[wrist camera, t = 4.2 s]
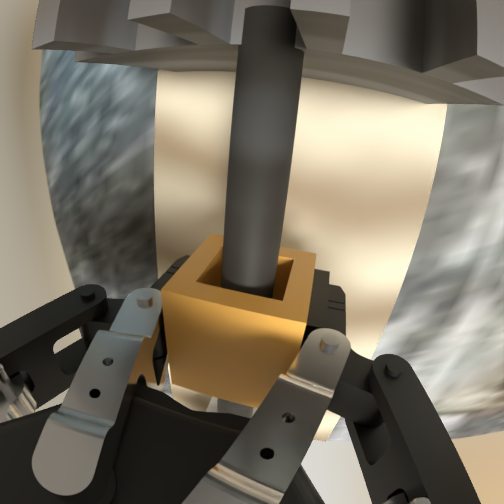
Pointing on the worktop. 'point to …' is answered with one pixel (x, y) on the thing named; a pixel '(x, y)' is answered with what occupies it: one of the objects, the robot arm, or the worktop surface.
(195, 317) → the sleeve
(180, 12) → the cord board
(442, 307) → the worktop surface
